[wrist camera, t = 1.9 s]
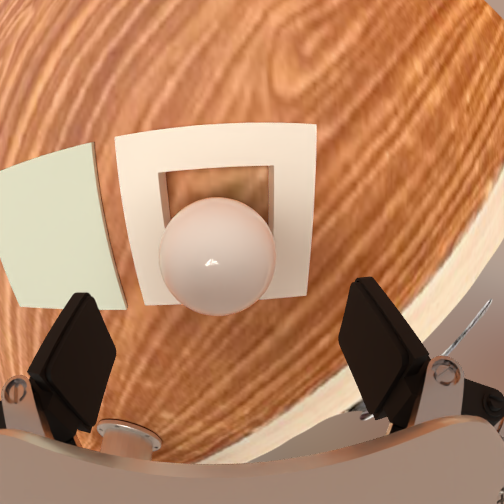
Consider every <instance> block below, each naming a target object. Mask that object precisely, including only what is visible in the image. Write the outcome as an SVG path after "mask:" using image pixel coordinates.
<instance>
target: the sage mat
mask: <svg viewBox="0 0 504 504" xmlns="http://www.w3.org/2000/svg"><path fill="white" fill-rule="evenodd" d="M0 258H1V261H2V264H3V267H4V269H5V272H6V275H7V277H8V280H9V282H10V285H11V287H12V289H13V292H14V294H15V296H16V299H17V301H18V303H19V305H20V307H34V308H54V309H64V307H65V306H66V304H67V303H68V301H69V300H70V298H71V297H72V295H73V294H74V293H76V292H87V293H89V294H90V295H91V296H92V297H94V299H95V301H96V303H97V306H98V308H99V310H127V307H128V306H127V303H126V300H125V296H124V293H123V290H122V286H121V283H120V280H119V276H118V272H117V269H116V265H115V261H114V257H113V253H112V249H111V245H110V241H109V236H108V231H107V227H106V222H105V217H104V212H103V206H102V201H101V195H100V188H99V182H98V174H97V167H96V158H95V148H94V142H91V143H87V144H83V145H79V146H75V147H71V148H67V149H64V150H60V151H57V152H53V153H50V154H47V155H43V156H40V157H37V158H34V159H31V160H28V161H25V162H23V163H20V164H17V165H14V166H12V167H9V168H7V169H4V170H2V171H0Z"/></svg>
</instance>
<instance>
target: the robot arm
mask: <svg viewBox="0 0 504 504" xmlns="http://www.w3.org/2000/svg"><path fill="white" fill-rule="evenodd" d="M339 345H340V347H341V349H342V352H343V354H344V356H345V358H346V361H347V363H348V365H349V368H350V370H351V372H352V375H353V377H354V379H355V382H356V384H357V386H358V389H359V391H360V393H361V396H362V398H363V401H364V403H365V406H366V408H367V410H368V412H369V413H370V414H373V415H374V418H375V420H378V419H381V418H384V417H388V419H389V421H390V424H389V427H388V430H387V432H386V435H385V436H383V437H380V438H376V439H373V440H370V441H366V442H363V443H359V444H356V445H352V446H348V447H345V448H341V449H337V450H332V451H328V452H323V453H319V454H314V455H309V456H303V457H297V458H290V459H284V460H276V461H266V462H257V463H242V464H182V463H168V462H157V461H152V451H156V450H158V449H160V448H161V444H162V442H161V439H160V438H159V437H158V436H157V435H156V434H154V433H153V432H151V431H149V430H147V429H145V428H143V427H140V426H138V425H135V424H132V423H128V422H124V421H119V420H102V421H100V422H99V423H98V425H97V431H98V432H99V434H100V435H101V436H102V437H103V440H102V445H101V450H100V452H97V451H93V450H89V449H85V448H83V447H82V445H81V443H80V441H79V439H78V437H77V435H76V432H77V429H78V430H80V431H84V432H88V433H91V429H92V426H94V425H95V424H96V421H97V417H98V413H99V410H100V406H101V402H102V399H103V395H104V392H105V389H106V385H107V382H108V379H109V376H110V373H111V369H112V366H113V363H114V360H115V357H116V348H115V345H114V343H113V341H112V339H111V337H110V334H109V332H108V330H107V328H106V325H105V323H104V321H103V318H102V316H101V313H100V311H99V308H98V306H97V303H96V301H95V299H94V297H92V296H91V295H90V294H89V293H87V292H76V293H74V294H73V295H72V297H71V298H70V300H69V301H68V303H67V304H66V306H65V307H64V309H63V310H62V312H61V313H60V315H59V317H58V318H57V320H56V321H55V323H54V325H53V326H52V328H51V330H50V331H49V333H48V335H47V336H46V338H45V340H44V341H43V343H42V345H41V347H40V349H39V350H38V352H37V354H36V356H35V358H34V360H33V361H32V363H31V365H30V367H29V369H28V371H27V372H28V373H29V375H30V376H31V377H30V379H28V378H27V377H25V376H23V375H16V376H13V377H11V378H10V379H9V380H8V381H7V382H6V383H5V385H4V386H3V389H2V392H1V398H2V400H1V401H0V504H504V396H503V395H502V393H501V392H499V391H498V390H496V389H494V388H491V387H488V386H485V385H482V384H479V383H476V382H473V381H470V380H467V379H465V378H464V371H463V369H462V367H461V366H460V364H459V363H458V362H457V361H456V360H454V359H453V358H450V357H448V356H437V357H435V358H433V359H432V360H431V359H430V358H429V356H428V355H429V353H428V351H427V350H426V348H425V347H424V346H423V344H422V343H421V341H420V340H419V338H418V337H417V335H416V334H415V333H414V331H413V330H412V328H411V327H410V326H409V324H408V323H407V321H406V320H405V319H404V317H403V316H402V315H401V313H400V312H399V311H398V309H397V308H396V307H395V305H394V304H393V303H392V301H391V300H390V299H389V297H388V296H387V295H386V294H385V292H384V291H383V290H382V288H381V287H380V286H379V285H378V283H377V282H376V281H375V280H374V278H372V277H362V278H357V279H356V280H355V282H353V283H352V284H351V286H350V290H349V295H348V300H347V304H346V308H345V313H344V317H343V321H342V325H341V329H340V333H339Z"/></svg>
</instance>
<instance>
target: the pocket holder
mask: <svg viewBox="0 0 504 504" xmlns="http://www.w3.org/2000/svg"><path fill="white" fill-rule="evenodd" d="M316 131H317V124H300V123H229V124H211V125H197V126H186V127H177V128H168V129H160V130H153V131H146V132H140V133H134V134H128V135H123V136H117V137H115V148H116V158H117V167H118V176H119V183H120V191H121V197H122V204H123V210H124V216H125V221H126V227H127V232H128V237H129V242H130V247H131V251H132V256H133V260H134V264H135V269H136V273H137V277H138V281H139V285H140V289H141V292H142V296H143V300H144V303H145V305H175V304H181V303H180V302H179V301H178V300H177V299H176V298H175V297H174V296H173V295H172V294H171V293H170V291H169V290H168V288H167V287H166V285H165V283H164V281H163V278H162V275H161V272H160V267H159V258H158V255H159V246H160V241H161V238H162V235H163V233H164V230H165V228H166V227H167V225H168V223H169V222H170V221H171V217H170V209H169V201H168V191H167V182H166V172H169V171H179V170H190V169H203V168H218V167H237V166H268V227H269V228H270V230H271V232H272V235H273V237H274V241H275V245H276V253H277V261H276V268H275V272H274V276H273V278H272V281H271V283H270V285H269V287H268V288H267V290H266V291H265V293H264V294H263V295H262V296H261V298H260V299H259V300H262V299H275V298H286V297H297V296H306V294H307V285H308V275H309V264H310V253H311V241H312V228H313V212H314V195H315V172H316Z"/></svg>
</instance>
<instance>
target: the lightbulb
mask: <svg viewBox="0 0 504 504" xmlns="http://www.w3.org/2000/svg"><path fill="white" fill-rule="evenodd" d="M158 258H159V267H160V272H161V275H162V278H163V281H164V283H165V285H166V287H167V288H168V290H169V291H170V293H171V294H172V295H173V296H174V297H175V298H176V299H177V300H178V301H179V302H180V303H181V304H183V305H184V306H186V307H187V308H189V309H191V310H193V311H195V312H198V313H201V314H204V315H210V316H225V315H231V314H235V313H238V312H240V311H242V310H245V309H246V308H248V307H250V306H251V305H253V304H254V303H255V302H256V301H257V300H259V299H260V298H261V296H262V295H263V294H264V293H265V291H266V290H267V288H268V287H269V285H270V283H271V281H272V278H273V276H274V272H275V268H276V261H277V253H276V245H275V241H274V237H273V235H272V232H271V230H270V228H269V227H268V225H267V223H266V222H265V221H264V219H263V218H262V217H261V216H260V215H259V214H258V213H257V212H256V211H255V210H253V209H252V208H251V207H249V206H248V205H246V204H244V203H242V202H240V201H237V200H234V199H230V198H223V197H212V198H205V199H201V200H198V201H196V202H193V203H191V204H189V205H187V206H186V207H184V208H183V209H182V210H180V211H179V212H178V213H177V214H176V215H175V216H174V217H173V218H172V219H171V221H170V222H169V223H168V225H167V227H166V228H165V230H164V233H163V235H162V238H161V241H160V246H159V255H158Z"/></svg>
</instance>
